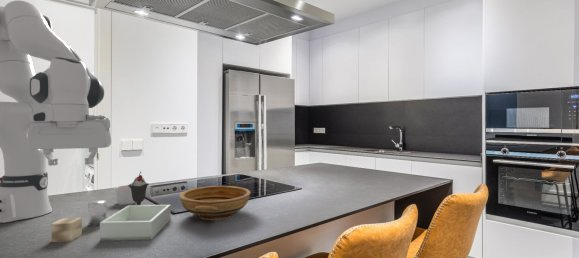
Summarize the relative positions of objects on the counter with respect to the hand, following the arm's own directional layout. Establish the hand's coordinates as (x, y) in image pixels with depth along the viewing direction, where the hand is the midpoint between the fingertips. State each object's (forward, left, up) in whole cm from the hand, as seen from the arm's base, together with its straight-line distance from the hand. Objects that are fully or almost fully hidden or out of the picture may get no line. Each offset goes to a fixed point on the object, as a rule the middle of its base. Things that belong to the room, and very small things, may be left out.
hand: (71, 164), depth 87 cm
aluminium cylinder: (+1, +11, -20) cm, 23 cm away
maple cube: (-1, -1, -21) cm, 21 cm away
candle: (-1, +37, -21) cm, 43 cm away
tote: (+16, +5, -20) cm, 27 cm away
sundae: (+9, +23, -21) cm, 32 cm away
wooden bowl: (+37, +18, -21) cm, 46 cm away
